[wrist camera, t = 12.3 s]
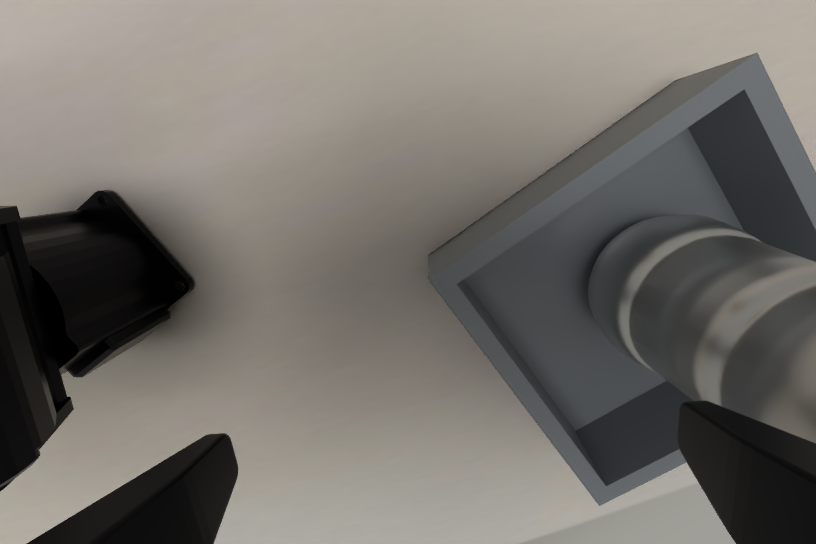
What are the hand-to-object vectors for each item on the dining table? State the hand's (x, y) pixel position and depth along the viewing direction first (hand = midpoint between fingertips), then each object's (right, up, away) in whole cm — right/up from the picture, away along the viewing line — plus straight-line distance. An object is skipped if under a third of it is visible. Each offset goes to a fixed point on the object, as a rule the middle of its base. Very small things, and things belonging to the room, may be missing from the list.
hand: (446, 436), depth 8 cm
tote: (+10, +3, +12) cm, 16 cm away
